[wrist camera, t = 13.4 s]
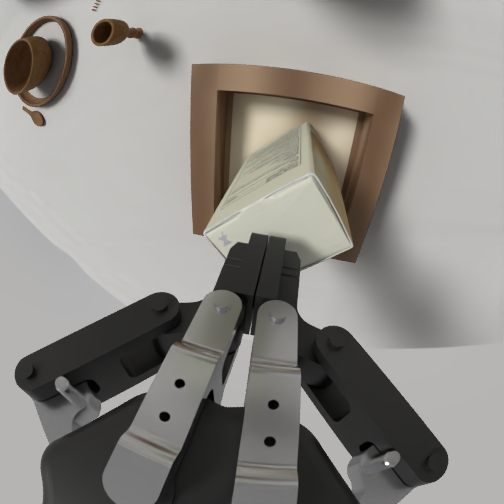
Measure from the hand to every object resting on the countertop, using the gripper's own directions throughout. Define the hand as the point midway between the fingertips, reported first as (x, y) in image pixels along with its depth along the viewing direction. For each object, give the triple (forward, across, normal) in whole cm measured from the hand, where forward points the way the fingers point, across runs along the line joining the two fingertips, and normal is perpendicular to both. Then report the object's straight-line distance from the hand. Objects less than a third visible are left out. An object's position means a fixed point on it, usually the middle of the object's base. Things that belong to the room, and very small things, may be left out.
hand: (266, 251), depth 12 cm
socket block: (+14, 0, 0) cm, 14 cm away
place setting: (+15, +26, -10) cm, 31 cm away
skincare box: (+13, 0, 0) cm, 13 cm away
